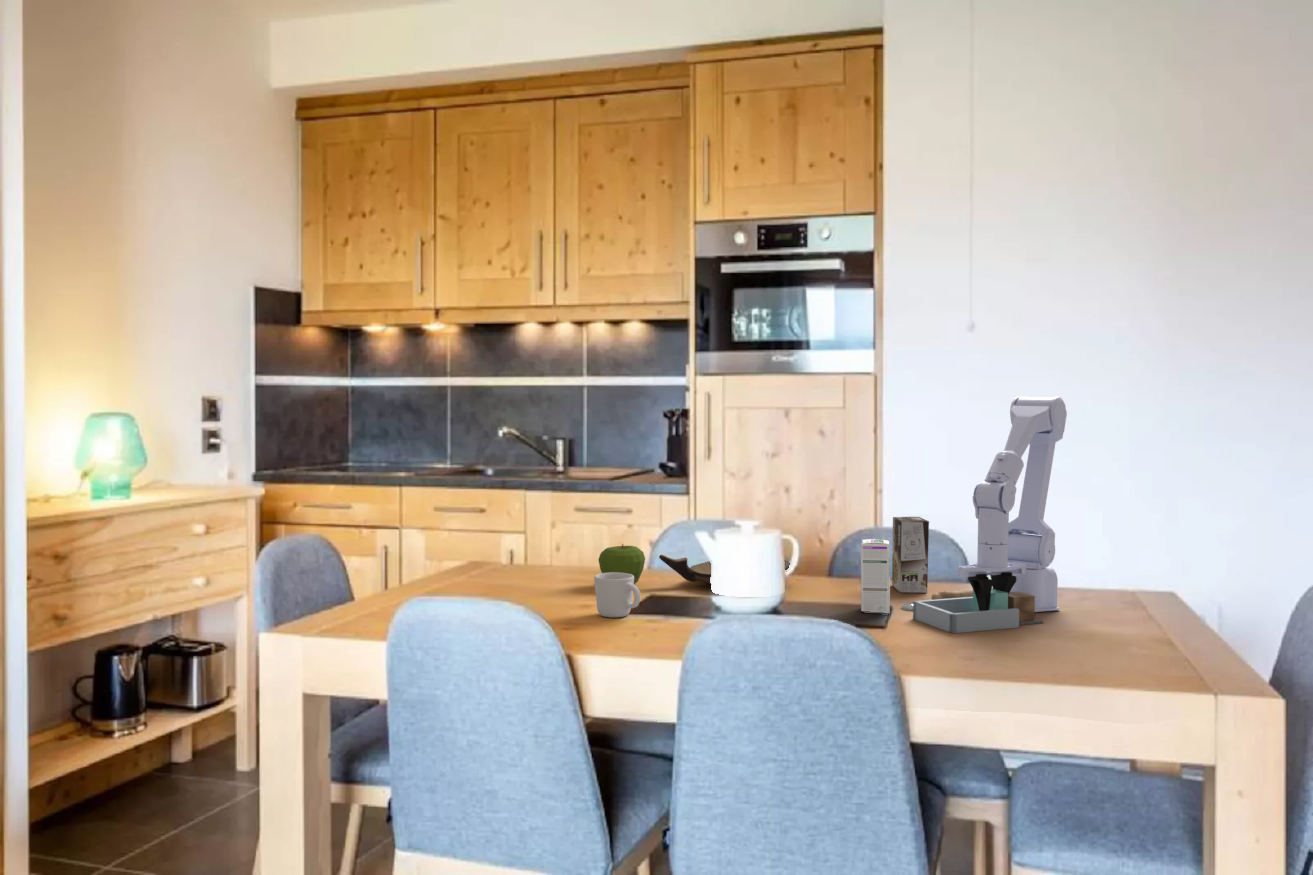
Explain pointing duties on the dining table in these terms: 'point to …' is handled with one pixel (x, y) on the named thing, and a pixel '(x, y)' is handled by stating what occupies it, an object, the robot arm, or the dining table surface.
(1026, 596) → the cube
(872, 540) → the syrup box
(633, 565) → the apple
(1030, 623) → the strips
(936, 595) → the dowel
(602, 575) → the cup
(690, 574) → the oil lamp
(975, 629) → the tray
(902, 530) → the coffee box
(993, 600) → the green block
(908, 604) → the washer
